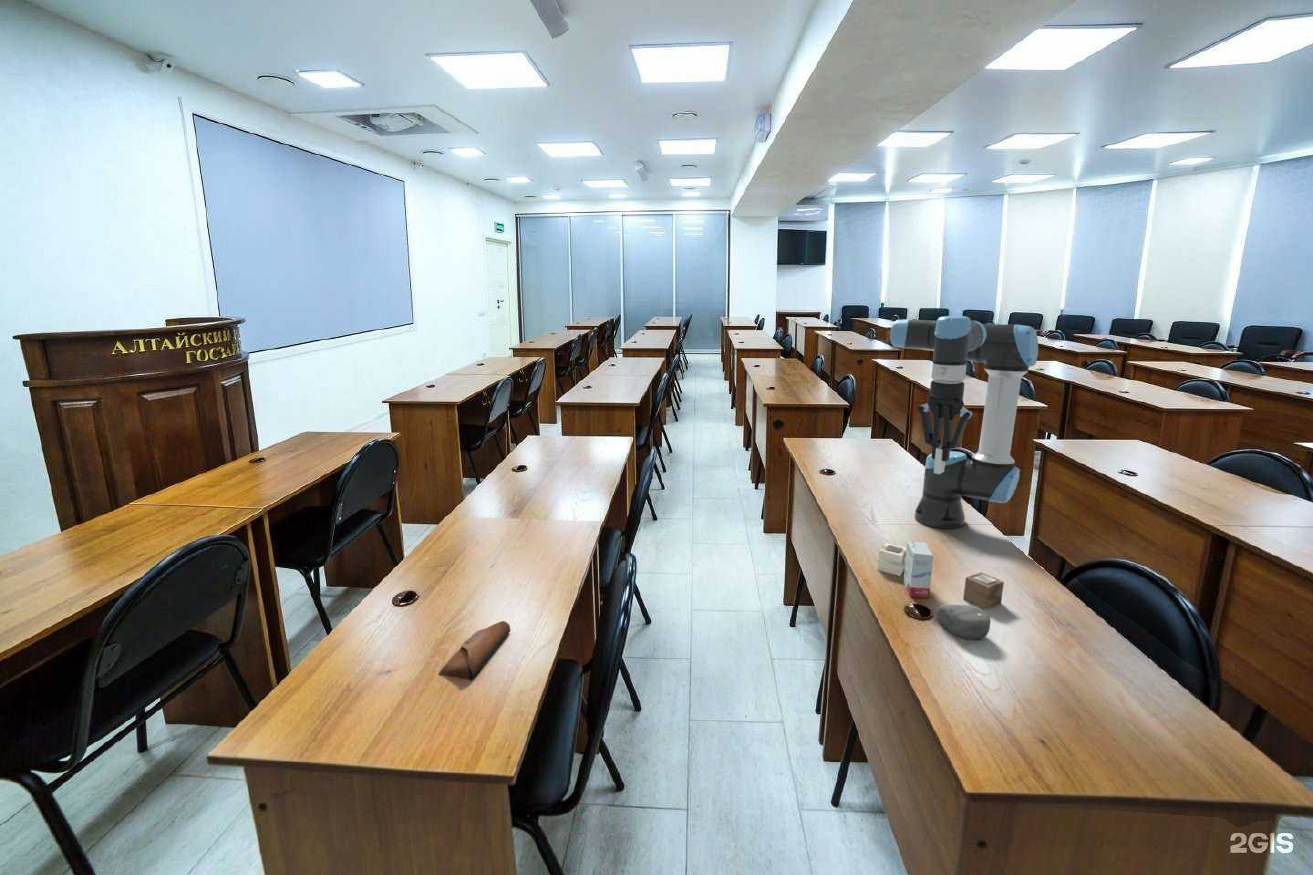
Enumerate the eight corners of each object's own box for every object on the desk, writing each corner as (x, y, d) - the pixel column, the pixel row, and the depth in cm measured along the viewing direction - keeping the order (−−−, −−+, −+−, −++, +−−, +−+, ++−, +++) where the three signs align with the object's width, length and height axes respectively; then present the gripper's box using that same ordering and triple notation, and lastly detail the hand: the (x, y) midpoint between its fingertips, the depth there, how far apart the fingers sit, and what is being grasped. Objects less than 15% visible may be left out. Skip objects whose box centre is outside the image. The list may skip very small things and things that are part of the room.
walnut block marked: (978, 593, 158) (981, 571, 156) (1000, 603, 152) (1004, 581, 151) (963, 599, 155) (966, 576, 153) (985, 610, 150) (988, 586, 148)
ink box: (929, 598, 155) (934, 555, 152) (909, 597, 156) (913, 554, 153) (922, 583, 163) (926, 541, 160) (903, 581, 164) (906, 540, 161)
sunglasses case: (477, 628, 144) (488, 608, 142) (502, 645, 143) (514, 624, 141) (435, 676, 127) (448, 653, 125) (464, 694, 126) (477, 672, 124)
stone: (968, 615, 147) (982, 591, 140) (983, 650, 140) (999, 626, 134) (930, 616, 147) (943, 592, 140) (944, 651, 140) (958, 627, 134)
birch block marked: (884, 562, 175) (886, 542, 174) (906, 568, 172) (908, 547, 170) (877, 570, 171) (879, 549, 169) (899, 576, 167) (901, 555, 166)
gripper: (914, 380, 153) (907, 470, 159) (969, 386, 143) (959, 481, 150) (927, 375, 158) (920, 463, 164) (981, 381, 148) (971, 474, 155)
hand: (938, 472), depth 157 cm, fingers closed
